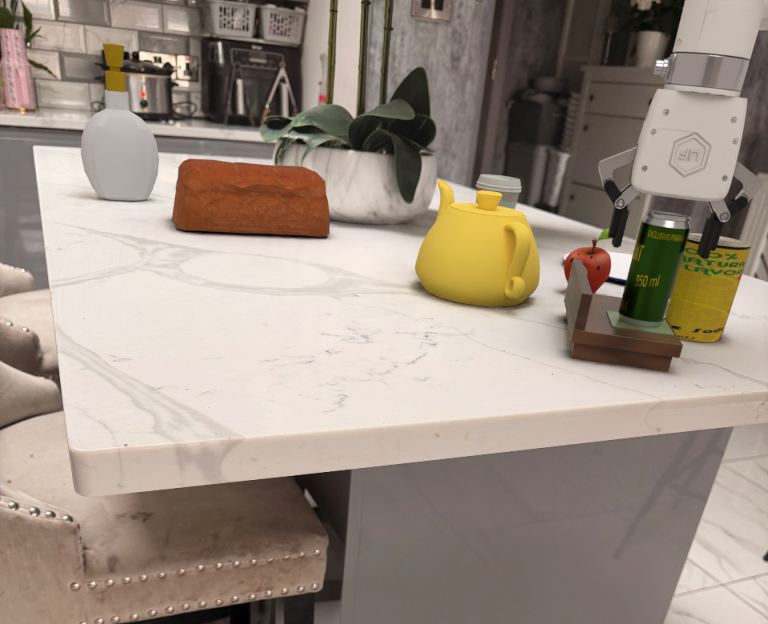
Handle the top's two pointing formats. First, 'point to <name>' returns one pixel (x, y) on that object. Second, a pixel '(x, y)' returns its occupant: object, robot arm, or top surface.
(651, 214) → the beer can
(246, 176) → the bread
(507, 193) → the coffee cup
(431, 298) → the top surface
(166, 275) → the top surface
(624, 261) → the plate
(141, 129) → the white rounded bottle
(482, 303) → the teapot
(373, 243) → the top surface
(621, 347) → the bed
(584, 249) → the apple
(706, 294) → the beverage can
